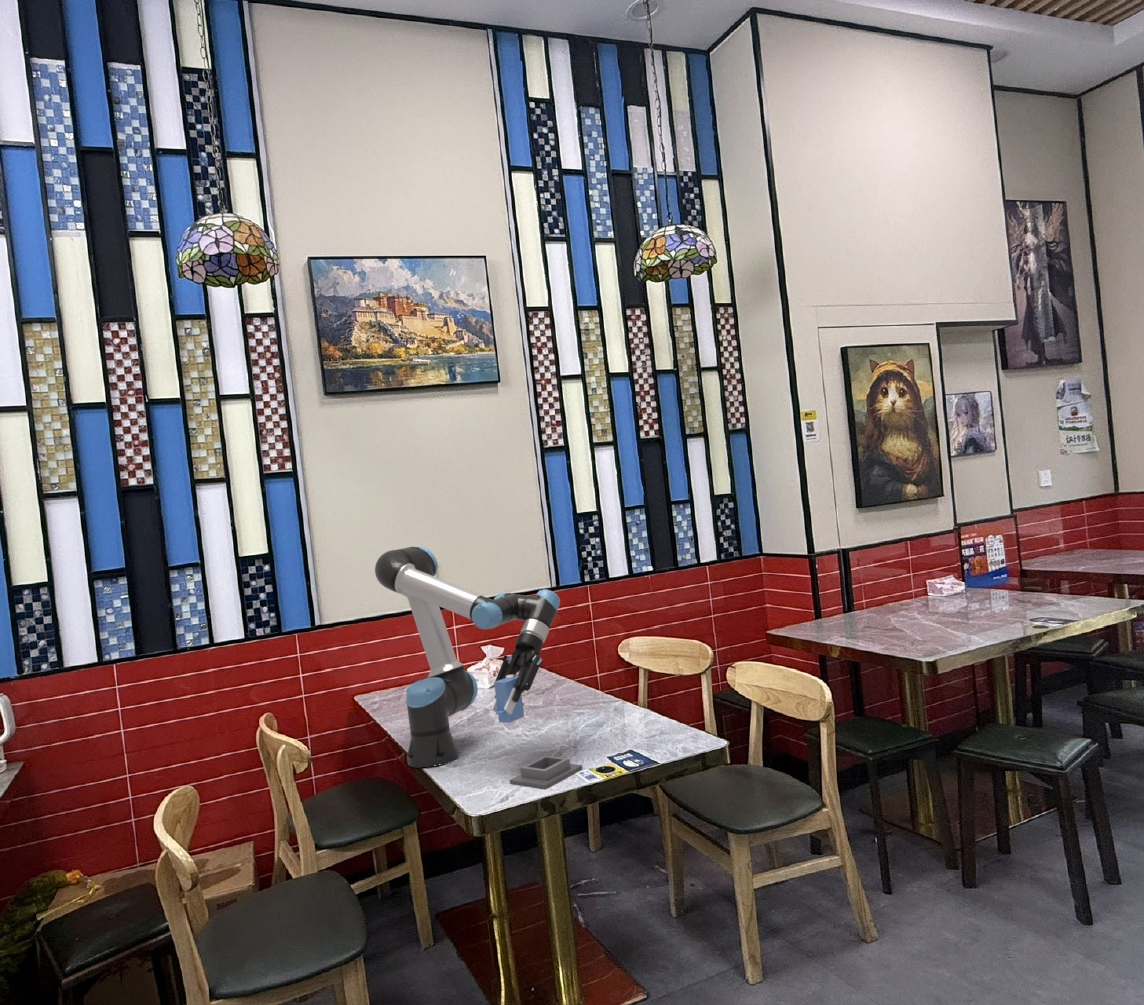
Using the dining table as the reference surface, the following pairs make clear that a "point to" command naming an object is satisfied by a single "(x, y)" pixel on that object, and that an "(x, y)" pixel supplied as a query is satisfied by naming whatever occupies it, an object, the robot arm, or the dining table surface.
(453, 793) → the dining table surface
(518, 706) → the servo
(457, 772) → the dining table surface
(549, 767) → the chassis
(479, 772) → the dining table surface
